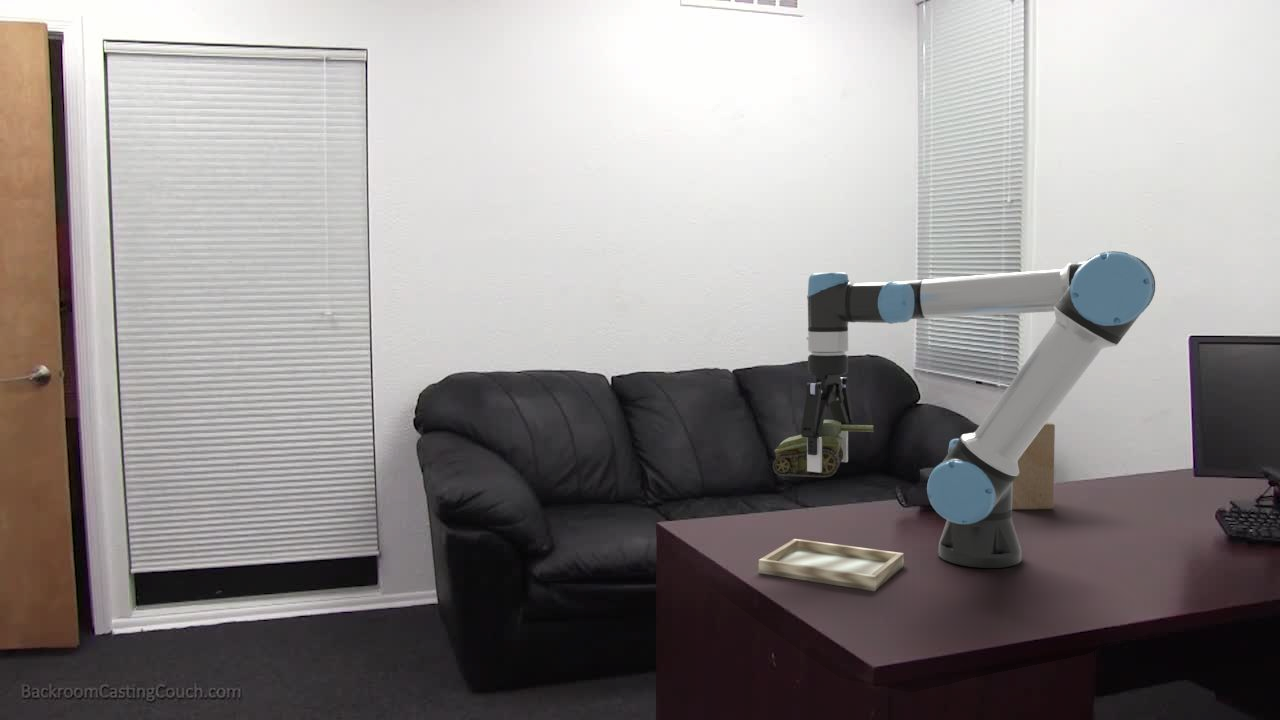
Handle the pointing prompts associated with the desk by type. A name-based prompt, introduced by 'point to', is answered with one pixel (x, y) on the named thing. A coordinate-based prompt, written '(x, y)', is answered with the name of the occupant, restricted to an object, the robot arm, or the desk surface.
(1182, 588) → the desk surface
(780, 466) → the toy
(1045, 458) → the wooden block
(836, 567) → the beige tray
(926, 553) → the desk surface
